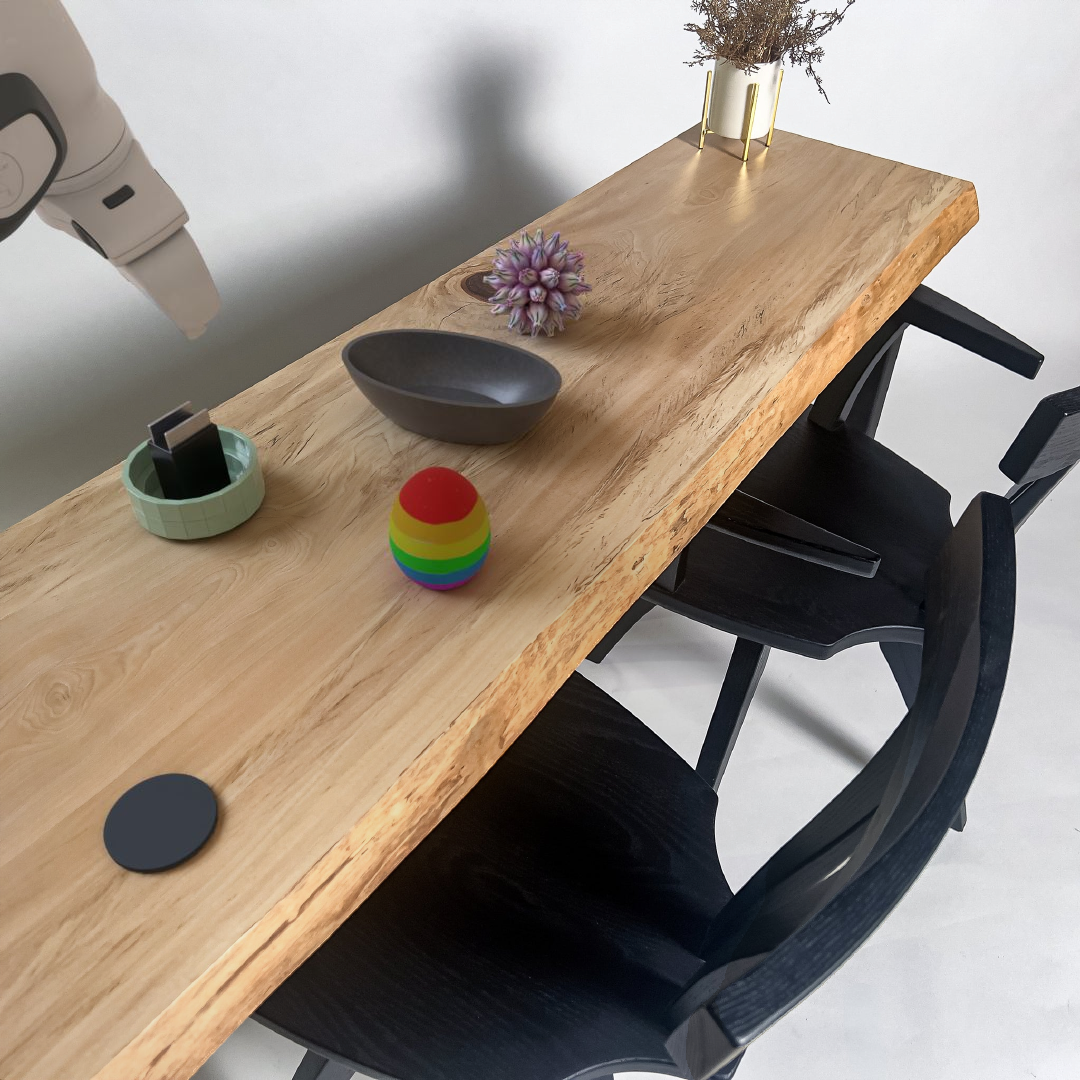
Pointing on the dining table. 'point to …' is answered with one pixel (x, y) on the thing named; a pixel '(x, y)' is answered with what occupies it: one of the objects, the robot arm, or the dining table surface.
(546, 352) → the dining table surface
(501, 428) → the bowl
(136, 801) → the coaster
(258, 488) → the green bowl
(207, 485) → the clip
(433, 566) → the decorative egg
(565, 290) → the flower
